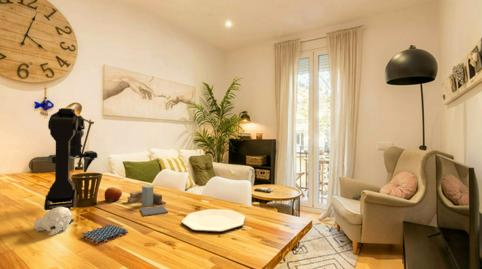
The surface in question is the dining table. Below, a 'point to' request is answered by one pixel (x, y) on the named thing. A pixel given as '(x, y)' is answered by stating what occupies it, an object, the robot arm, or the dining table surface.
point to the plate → (213, 220)
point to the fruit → (112, 194)
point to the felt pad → (153, 211)
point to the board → (147, 196)
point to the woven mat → (104, 234)
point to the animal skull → (54, 220)
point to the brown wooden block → (158, 199)
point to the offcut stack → (135, 197)
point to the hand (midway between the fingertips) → (74, 174)
